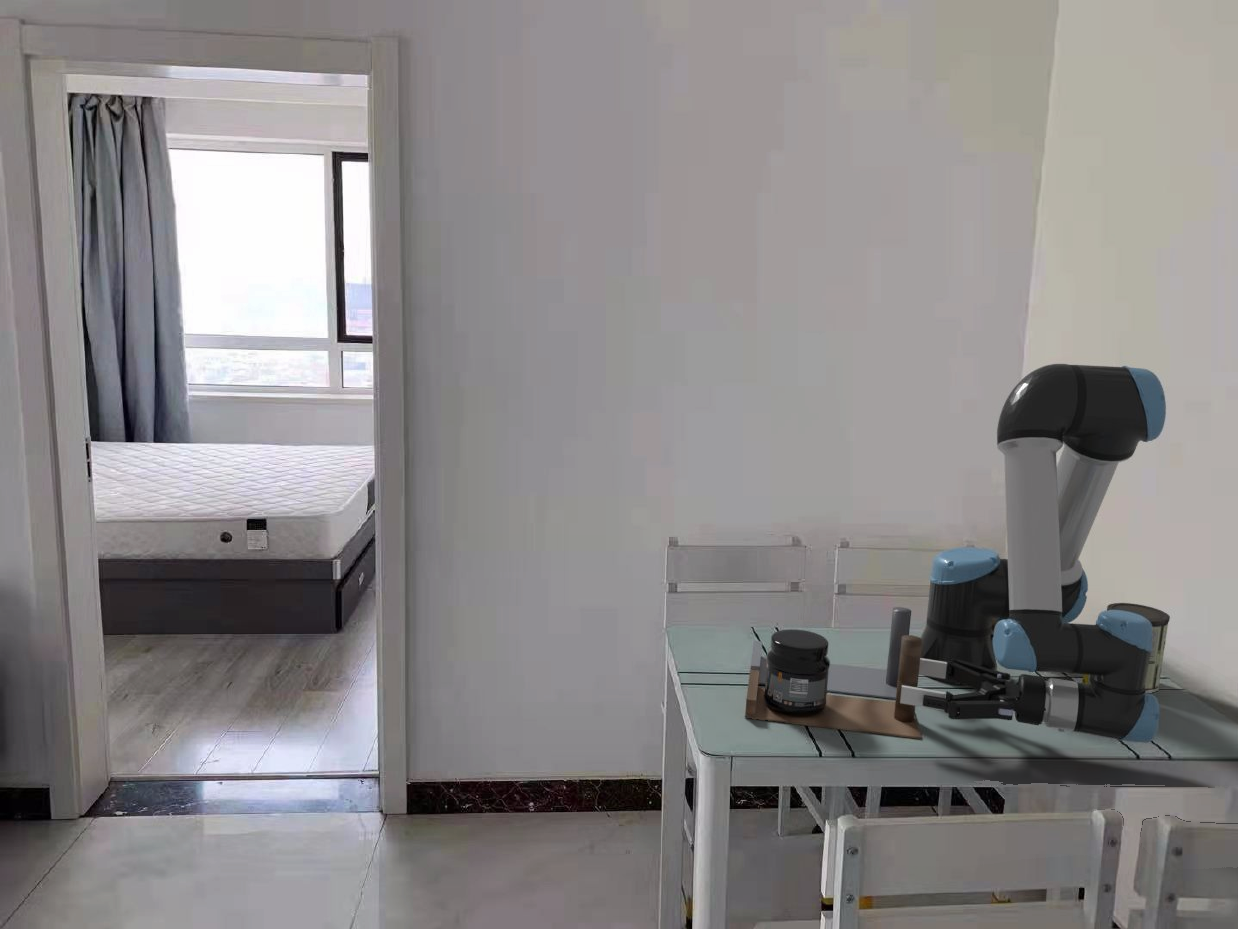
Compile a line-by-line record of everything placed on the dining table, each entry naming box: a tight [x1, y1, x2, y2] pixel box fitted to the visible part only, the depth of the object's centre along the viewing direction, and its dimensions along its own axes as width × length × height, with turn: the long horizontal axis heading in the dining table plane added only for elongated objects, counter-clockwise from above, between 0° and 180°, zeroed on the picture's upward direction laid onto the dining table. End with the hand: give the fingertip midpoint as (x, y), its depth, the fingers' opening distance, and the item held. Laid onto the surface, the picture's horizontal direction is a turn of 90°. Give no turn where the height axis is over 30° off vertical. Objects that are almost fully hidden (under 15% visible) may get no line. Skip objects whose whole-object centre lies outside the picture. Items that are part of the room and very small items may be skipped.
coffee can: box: [1106, 602, 1171, 694], centre depth 176 cm, size 10×10×14 cm
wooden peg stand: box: [744, 634, 922, 740], centre depth 158 cm, size 28×13×14 cm, turn 79°
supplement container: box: [764, 628, 831, 717], centre depth 159 cm, size 10×10×12 cm
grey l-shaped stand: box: [749, 606, 912, 700], centre depth 172 cm, size 28×13×14 cm, turn 79°
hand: (903, 678), depth 154 cm, fingers open, 13 cm apart
